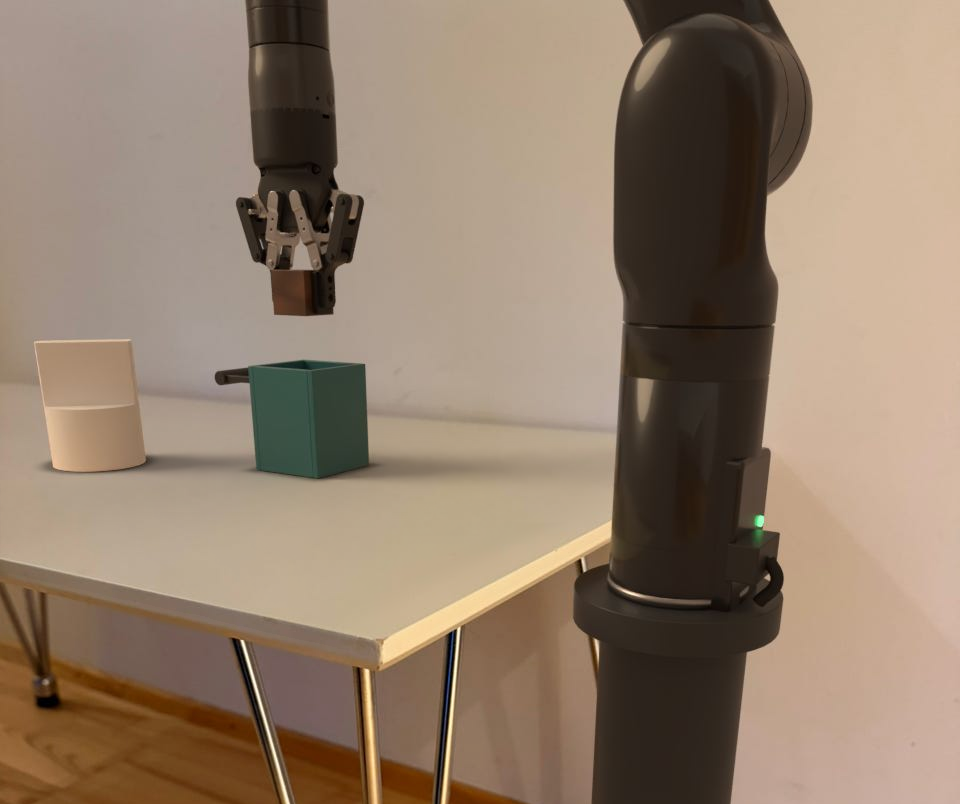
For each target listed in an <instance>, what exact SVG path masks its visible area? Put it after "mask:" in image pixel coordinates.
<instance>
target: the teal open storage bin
mask: <svg viewBox="0 0 960 804" xmlns="http://www.w3.org/2000/svg"><path fill="white" fill-rule="evenodd" d="M214 381H215V383H216V384H217V385H218V386H228V385H235V384H241V383H242V384H249V393H250V394H249V395H250V406H251V408H250V409H251V420H252V431H253V445H254V457H255V470H257V471H263V472H268V473H269V472H270V473H275V474H276V473H278V474H284V475H290V476H297V477H304V478H311V479H321V478H322V479H323V478H325V477H329V476H333V475H336V474H340V473H344V472H347V471H352V470H355V469H359V468H363V467H366V466H370V454H369V453H370V452H369V427H368V426H369V425H368V424H369V423H368V400H367V397H368V395H367V371H366V363H360V362H358V363H357V362H347V361H346V362H345V361H331V360H315V359H313V360H312V359H295V360H288V361H287V360H286V361H280V362H271V363H262V364H255V365H254V364H253V365H248V367H240V368H232V369H223V370H218V371H216V372H215V373H214Z"/></svg>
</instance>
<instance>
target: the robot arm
mask: <svg viewBox="0 0 960 804" xmlns="http://www.w3.org/2000/svg"><path fill="white" fill-rule="evenodd" d="M244 1H245V2H244V3H245V12H246V28H247V29H246V30H247V42H248V67H247V68H248V69H247V70H248V71H247V81H248V82H247V87H248V100H249V114H250V115H249V116H250V128H251V129H250V130H251V131H250V132H251V142H252V143H251V144H252V158H253V163H254V166H256V167H257V168H258V170H259V174H260V178H259V183H258V186H257V192H256V193H254V194H252V195H250V196H249V197H243V196H240V197H237V198H236V200H235V207H236V211H237V214H238V217H239V220H240V223H241V226H242V230H243V234H244V237H245V240H246V242H247V246H248V250H249V253H250V256H251V259H252V261H253V262H254V263H256V264H257V263H258V264H259V263H260V264H261V265H263V266H265V267H267V269H268V270H269V274H270V287H271V301H272V302H273V291H272V276H271V270H292V268H294V267H293V266H294V261H295V252H296V248H297V246H299V244H300V241H301V243H302V245H304V246H305V247H306V250H307V253H308V259H309V262H310V266H311V268H312V270H314V271H315V272H311V287H312V306H313V312H314V313H315V314H330V313H332V311H333V312H334V308H335V306H336V302H337V301H336V300H337V297H336V276H335V275H336V274H335V273H336V270H337V269H338V268H339V267H340V266H342V265H345V264H351V263H352V262H353V259H354V255H355V249H356V246H357V245H356V244H357V241H358V236H359V235H358V234H359V231H360V225H361V221H362V216H363V210H364V207H365V200H364V197H363V196H362V195H360V194H352V193H348V192H345V191H343V190H340V188H339V185H338V183H337V180H336V177H335V173H334V172H335V169H336V168H337V167H338V164H339V158H338V138H337V137H338V135H337V133H338V132H337V111H336V89H335V78H334V77H335V76H334V70H333V65H332V57H331V42H330V41H331V40H330V38H331V37H330V18H329V16H330V13H329V0H244ZM622 1H623V3H624V5H625V7H626V10H627V11H628V14H629V15H630V18H631V19H632V22H633V24H634V27H635V29H636V32H637V34H638V37H639V41H640V43H641V45H642V46H641V48H640V49H639V50H638V51H637V54H636V56H635V57H634V59H633V60H632V63H631V65H630V67H629V69H628V71H627V72H626V73H627V74H626V76H625V78H624V82H623V85H622V88H621V92H620V96H619V101H618V106H617V113H616V121H615V127H614V128H615V130H614V143H613V145H614V146H613V148H614V149H613V208H612V209H613V211H612V213H613V214H612V215H613V216H612V219H613V225H612V248H613V251H612V252H613V265H614V270H615V274H616V278H617V281H618V284H619V286H620V291H621V295H622V322H623V323H622V328H621V347H620V348H621V349H620V365H619V366H620V367H619V383H618V384H619V385H618V401H617V419H616V423H617V424H616V435H615V436H616V437H615V456H614V475H613V493H612V511H611V513H612V514H611V529H610V531H611V533H610V551H609V556H608V557H609V559H608V564H610V569H609V572H608V579H607V586H608V588H609V590H610V591H611V592H613V593H614V594H615V595H617V596H619V597H621V598H623V599H626V600H628V601H631V602H635V603H638V604H642V605H646V606H652V607H657V608H665V609H675V610H717V611H722V612H729V611H731V610H732V609H733V608H734V607H735V606H736V605H737V604H739V603H740V602H741V601H743V600H744V599H745V598H746V597H747V596H748V595H749V594H750V593H751V592H752V591H753V590H755V589H756V586H757V584H758V583H759V582H760V581H761V580H762V579H763V578H765V579H766V577H767V576H769V581H770V582H769V584H768V585H767V586H766V587H765V588H764V589H763V590H761V591H760V592H759V593H758V594H757V595H756V596H755V597H754V598H753V601H754V602H755V603H756V604H757V605H759V606H760V607H764V606H765V605H766V604H767V603H768V602H769V601H771V600H772V599H773V598H774V597H776V596H777V595H778V593H779V592H780V590H781V591H782V589H783V586H784V582H785V575H784V571H783V568H782V567H781V565H780V563H779V561H778V554H779V546H780V537H781V534H780V532H779V531H773V530H766V529H765V530H764V523H765V512H766V504H767V495H768V485H769V476H770V467H771V457H772V451H771V450H770V449H771V448H770V447H767V446H763V443H764V432H765V424H766V423H765V422H766V414H767V413H766V412H767V404H768V395H769V385H770V375H771V368H772V367H771V366H772V358H773V357H772V356H773V350H774V349H773V348H774V337H775V328H776V325H775V324H776V321H777V312H778V302H779V291H780V290H779V281H778V277H777V275H776V273H775V271H774V269H773V267H772V264H771V261H770V259H769V255H768V248H767V241H766V221H767V220H766V219H767V203H768V197H769V196H770V195H772V194H773V193H775V192H777V191H778V190H779V189H780V188H781V187H782V186H783V185H785V184H786V182H788V180H789V179H790V178H791V177H792V176H793V174H794V173H795V171H796V170H797V169H798V167H799V165H800V163H801V161H802V160H803V157H804V156H805V152H806V151H807V147H808V144H809V140H810V137H811V133H812V132H811V131H812V126H813V110H814V102H813V93H812V88H811V84H810V79H809V77H808V74H807V71H806V68H805V67H804V64H803V62H802V60H801V58H800V56H799V55H798V52H797V51H796V49H795V47H794V45H793V43H792V42H791V40H790V38H789V36H788V34H787V32H786V31H785V29H784V27H783V25H782V23H781V21H780V19H779V17H778V15H777V14H776V13H777V12H775V9H774V7H773V6H772V3H771V2H770V0H622ZM331 213H332V214H333V216H332V217H331ZM331 218H332V219H331Z"/></svg>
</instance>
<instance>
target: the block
mask: <svg viewBox="0 0 960 804" xmlns="http://www.w3.org/2000/svg"><path fill="white" fill-rule="evenodd" d="M311 272H315V271H314V269H290V270H271V274H270V277H271V276H272V289H271V292H272V291H273V301H272V306H273V315H274V316H289V317H290V316H293V317H317V316H319V317H320V316H332V315H334V310H333V311H332V313H330V314H315V313H314V312H313V306H312V287H311Z"/></svg>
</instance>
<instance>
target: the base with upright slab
mask: <svg viewBox="0 0 960 804" xmlns="http://www.w3.org/2000/svg"><path fill="white" fill-rule="evenodd" d="M33 347H34V351H35V353H34V354H35V359H36V365H37V371H38V379H39V384H40V390H41V391H40V392H41V397H42V403H43V410H44V417H45V423H46V431H47V437H48V442H49V449H50V455H51V462H52V467H53V468H54V469H56V470H60V471H65V472H76V473H77V472H79V473H80V472H81V473H85V472H86V473H88V472H90V473H92V472H108V471H109V472H110V471H116V470H117V471H118V470H125V469H129V468H133V467H137V466H140V465H143V464H145V463H146V462H147V457H146V449H145V448H146V447H145V440H144V433H143V423H142V416H141V407H140V400H139V399H140V397H139V391H138V383H137V375H136V366H135V358H134V350H133V349H134V348H133V340H132V339H130V338H121V339H120V338H118V339H117V338H113V339H110V338H109V339H66V340H65V339H63V340H62V339H60V340H59V339H57V340H56V339H55V340H36V341H33Z"/></svg>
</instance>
